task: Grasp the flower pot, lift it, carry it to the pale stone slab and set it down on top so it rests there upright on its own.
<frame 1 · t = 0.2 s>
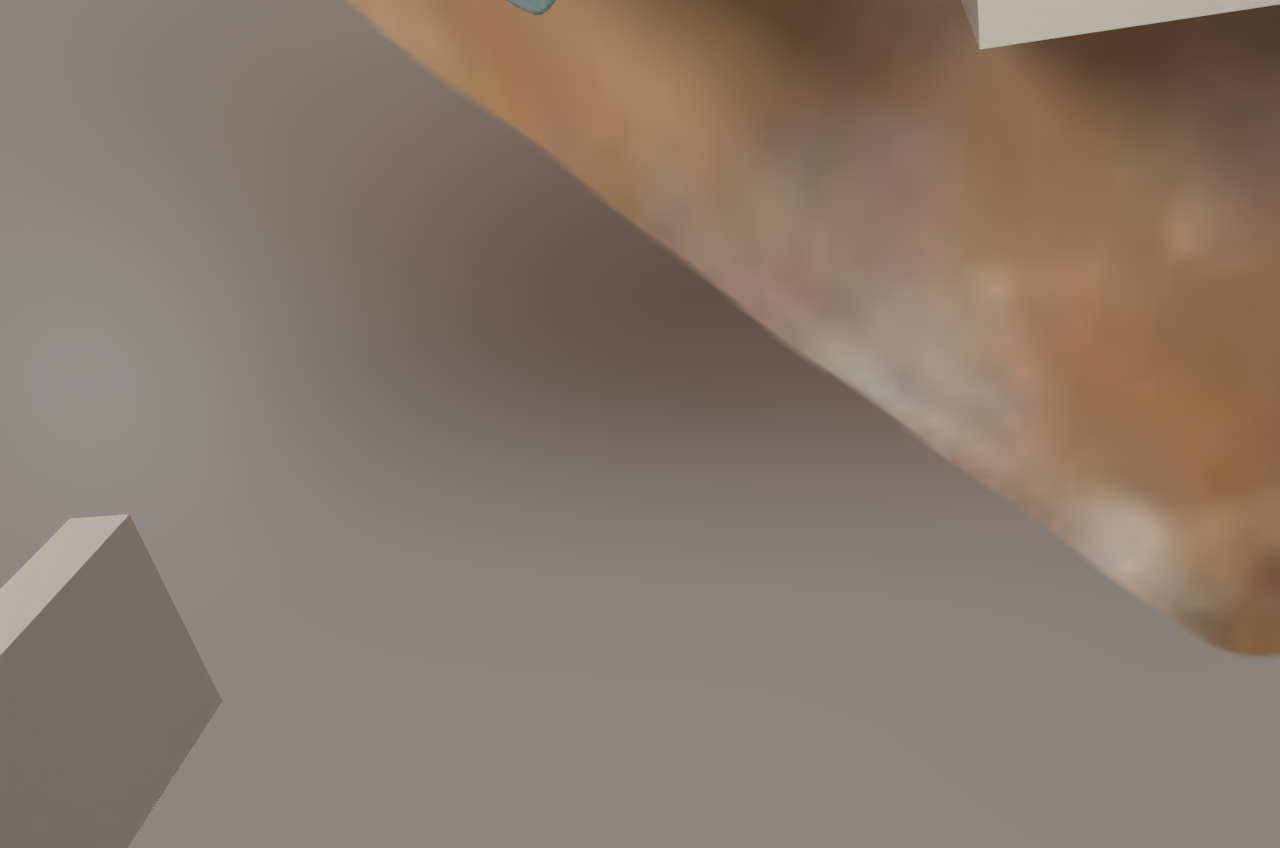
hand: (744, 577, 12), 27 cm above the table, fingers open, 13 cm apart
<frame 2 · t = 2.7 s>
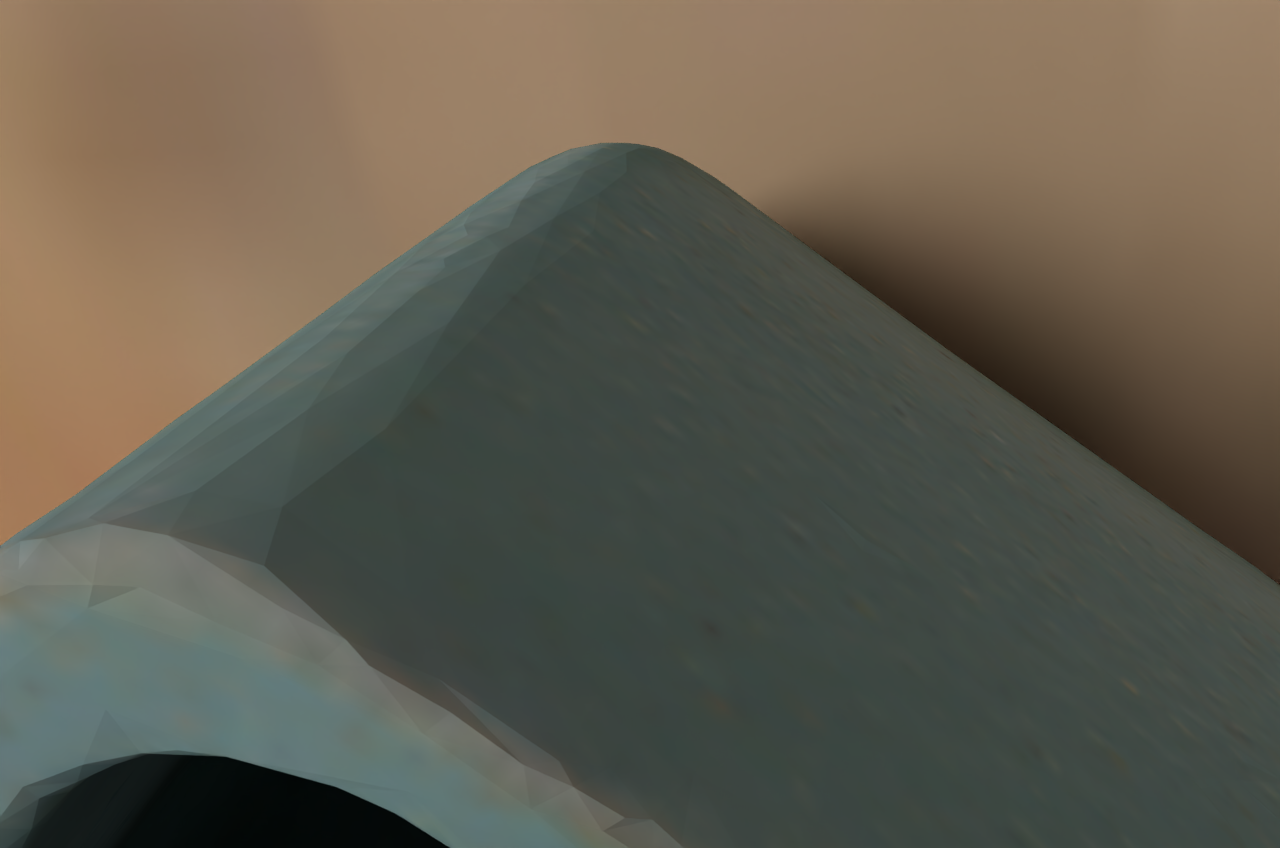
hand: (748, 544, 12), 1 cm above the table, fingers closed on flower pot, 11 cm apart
flower pot: (762, 486, 13), on the table, touching gripper
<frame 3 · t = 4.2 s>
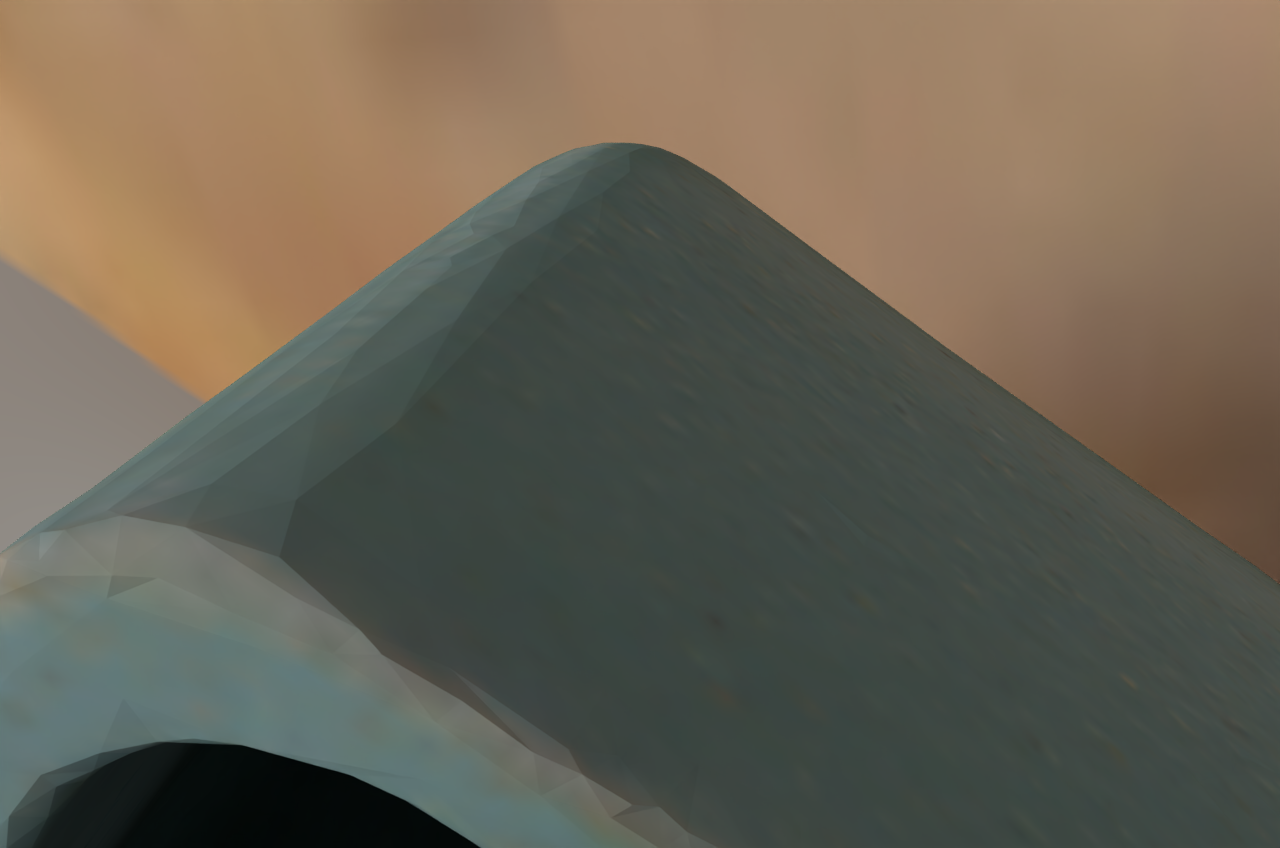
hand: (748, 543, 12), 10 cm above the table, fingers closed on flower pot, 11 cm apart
flower pot: (763, 485, 13), point 9 cm above the table, touching gripper
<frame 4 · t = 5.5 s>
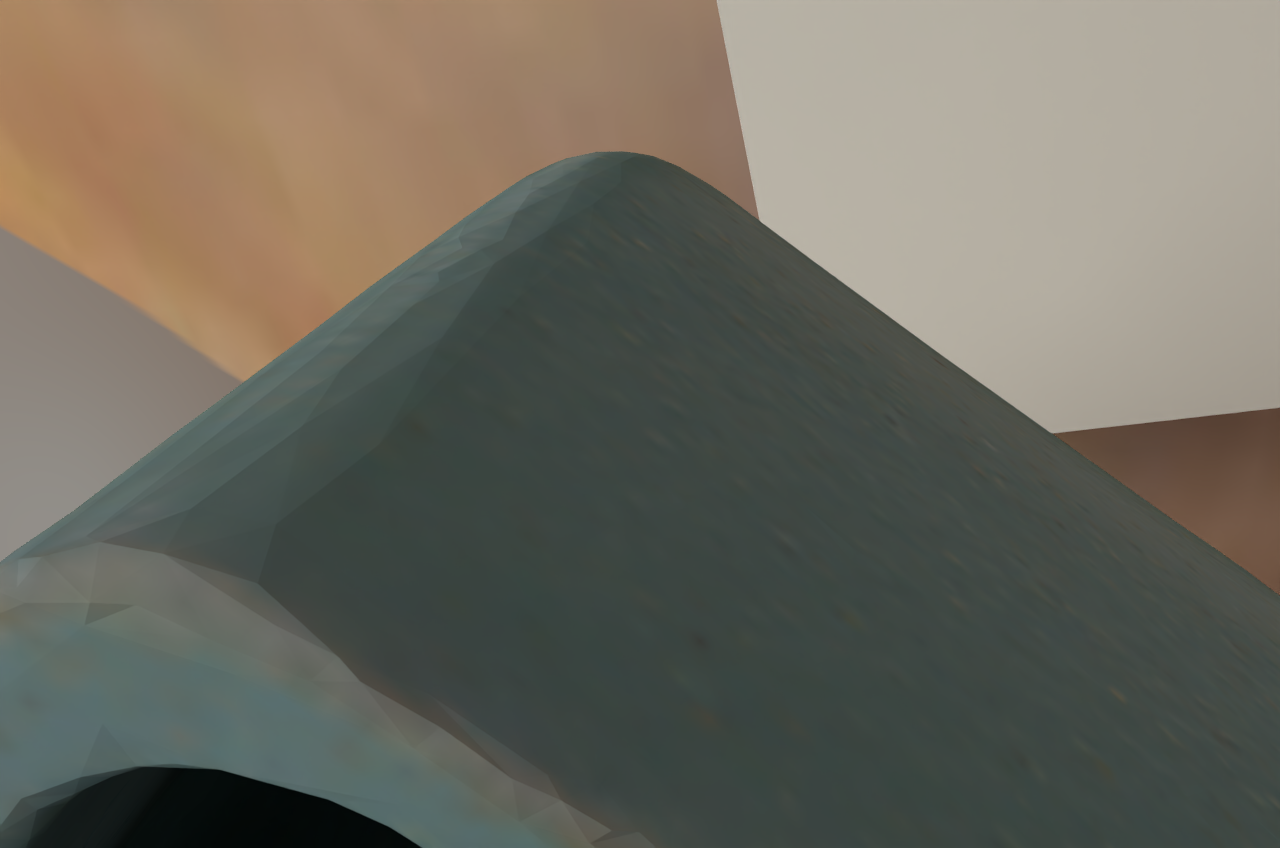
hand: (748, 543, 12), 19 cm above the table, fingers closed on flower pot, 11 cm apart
stone slab: (1072, 25, 26), on the table
flower pot: (759, 490, 13), point 18 cm above the table, touching gripper
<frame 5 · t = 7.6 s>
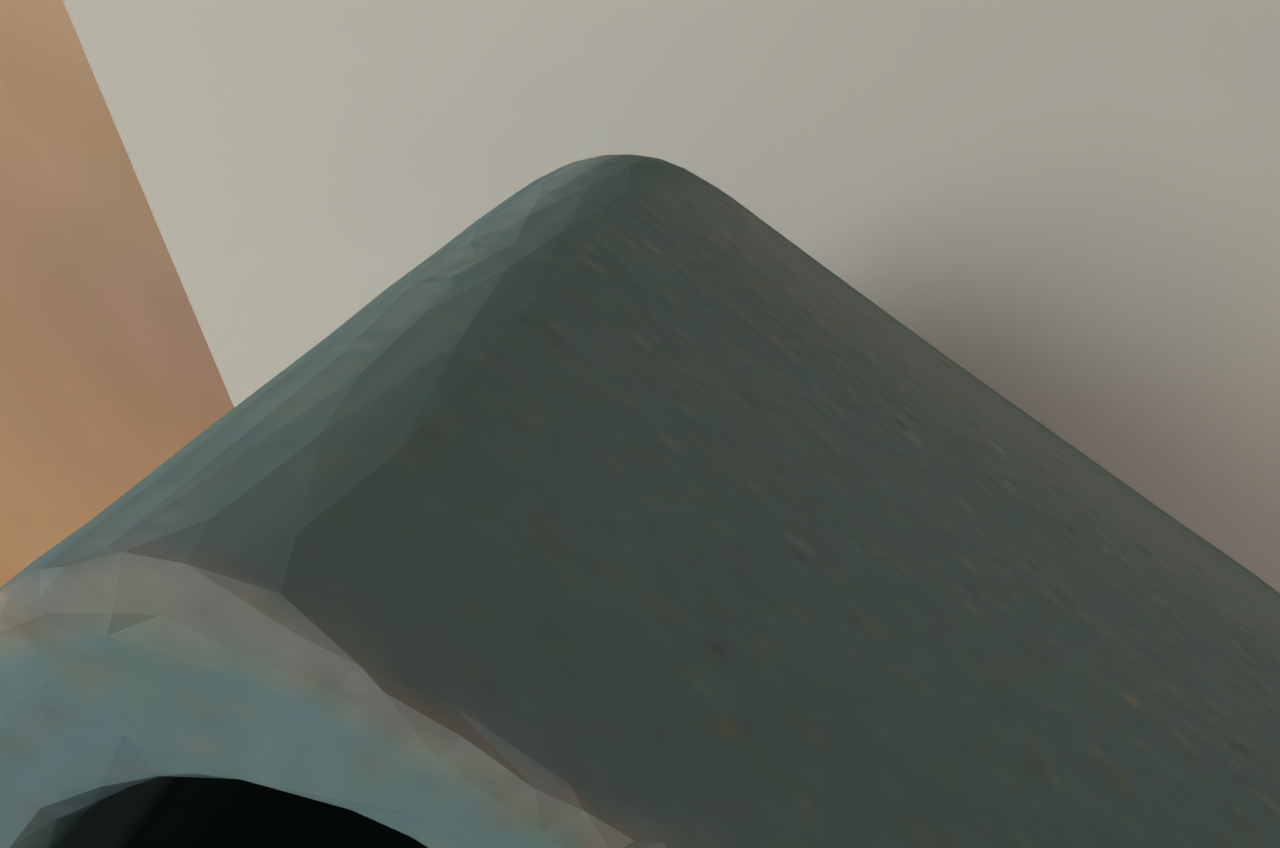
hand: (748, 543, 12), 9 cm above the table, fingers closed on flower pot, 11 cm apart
stone slab: (787, 232, 19), on the table
flower pot: (764, 491, 13), point 8 cm above the table, touching gripper
when the fingers open (8 cm above the table, at t = 8.3 s): flower pot drops 1 cm, resting on stone slab.
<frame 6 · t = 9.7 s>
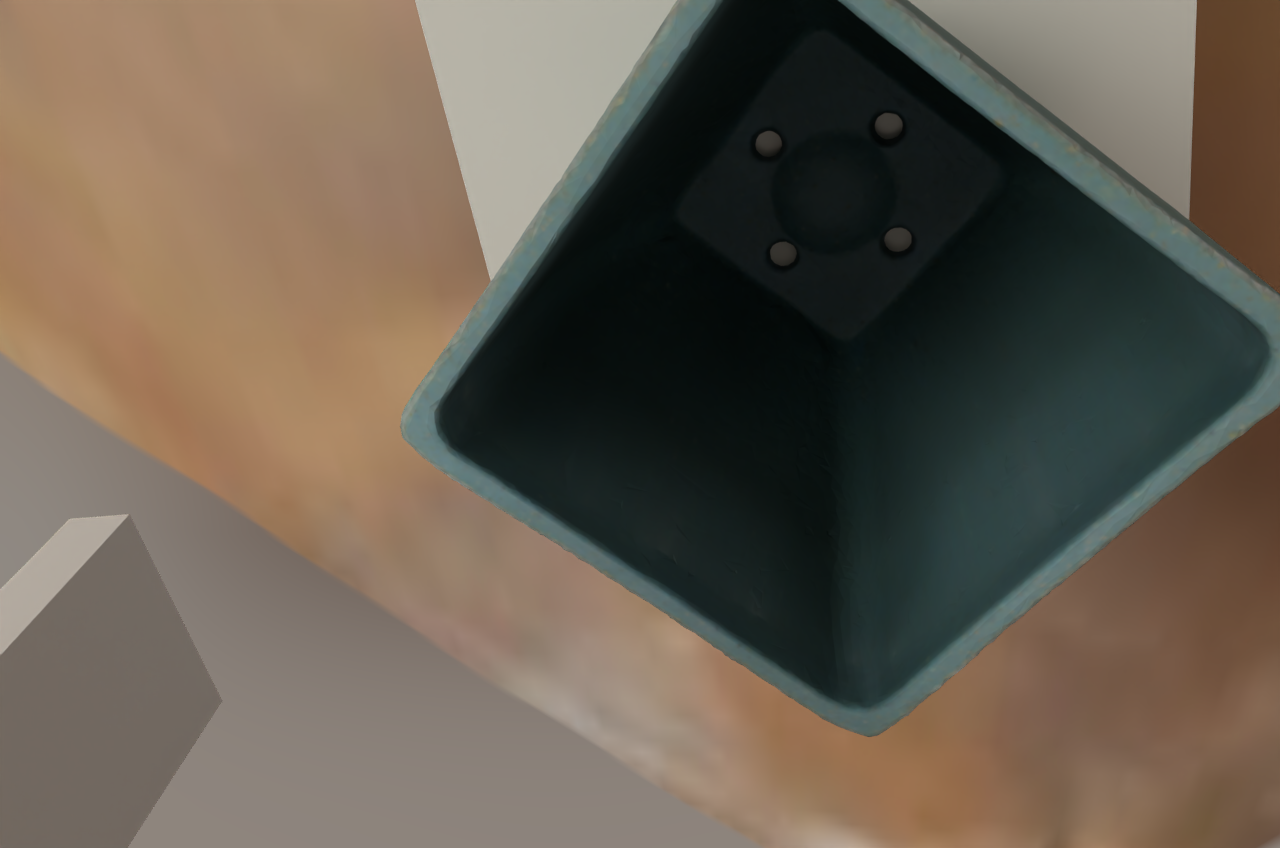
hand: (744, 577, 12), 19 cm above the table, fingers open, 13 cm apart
stone slab: (818, 109, 28), on the table
flower pot: (834, 179, 23), point 6 cm above the table, touching stone slab
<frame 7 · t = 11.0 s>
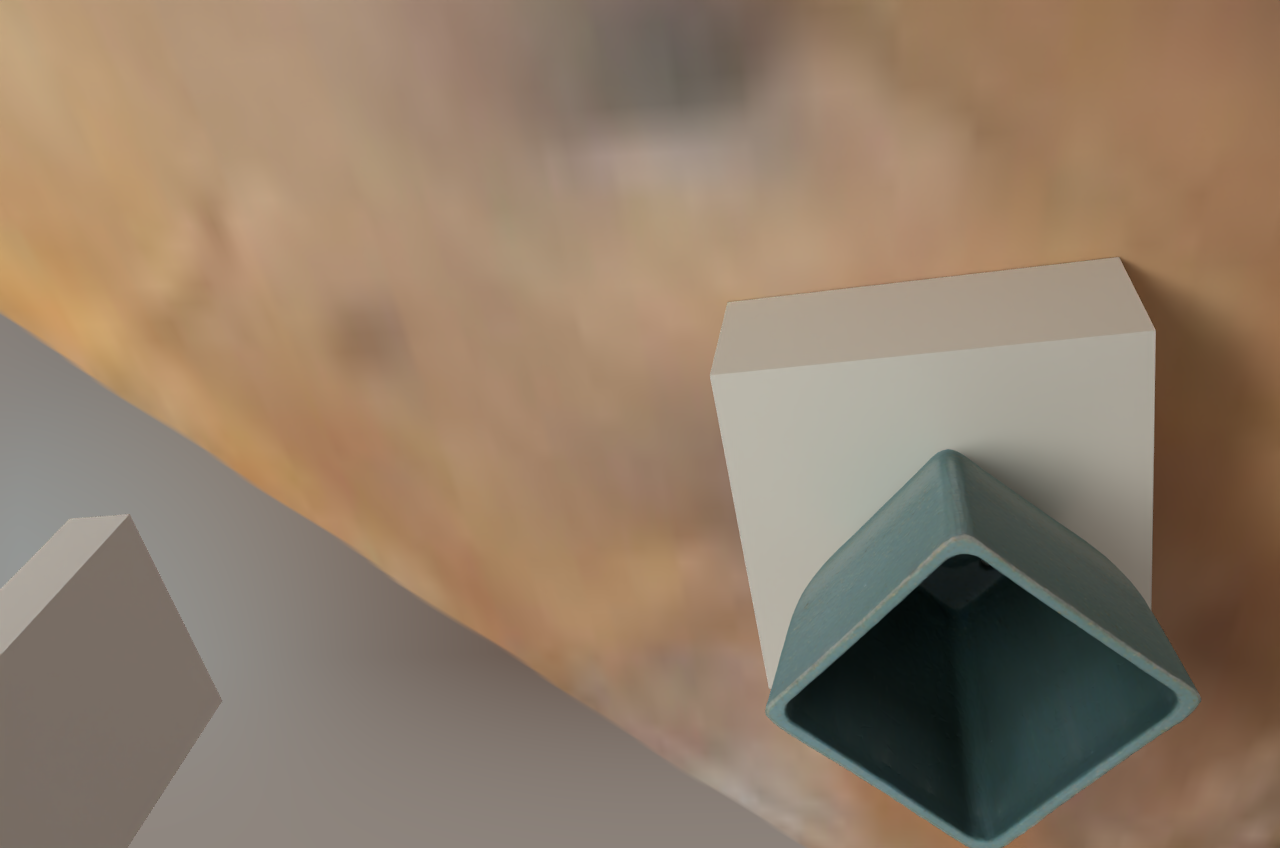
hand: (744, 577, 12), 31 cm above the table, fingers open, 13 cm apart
stone slab: (930, 443, 46), on the table
flower pot: (953, 525, 41), point 6 cm above the table, touching stone slab
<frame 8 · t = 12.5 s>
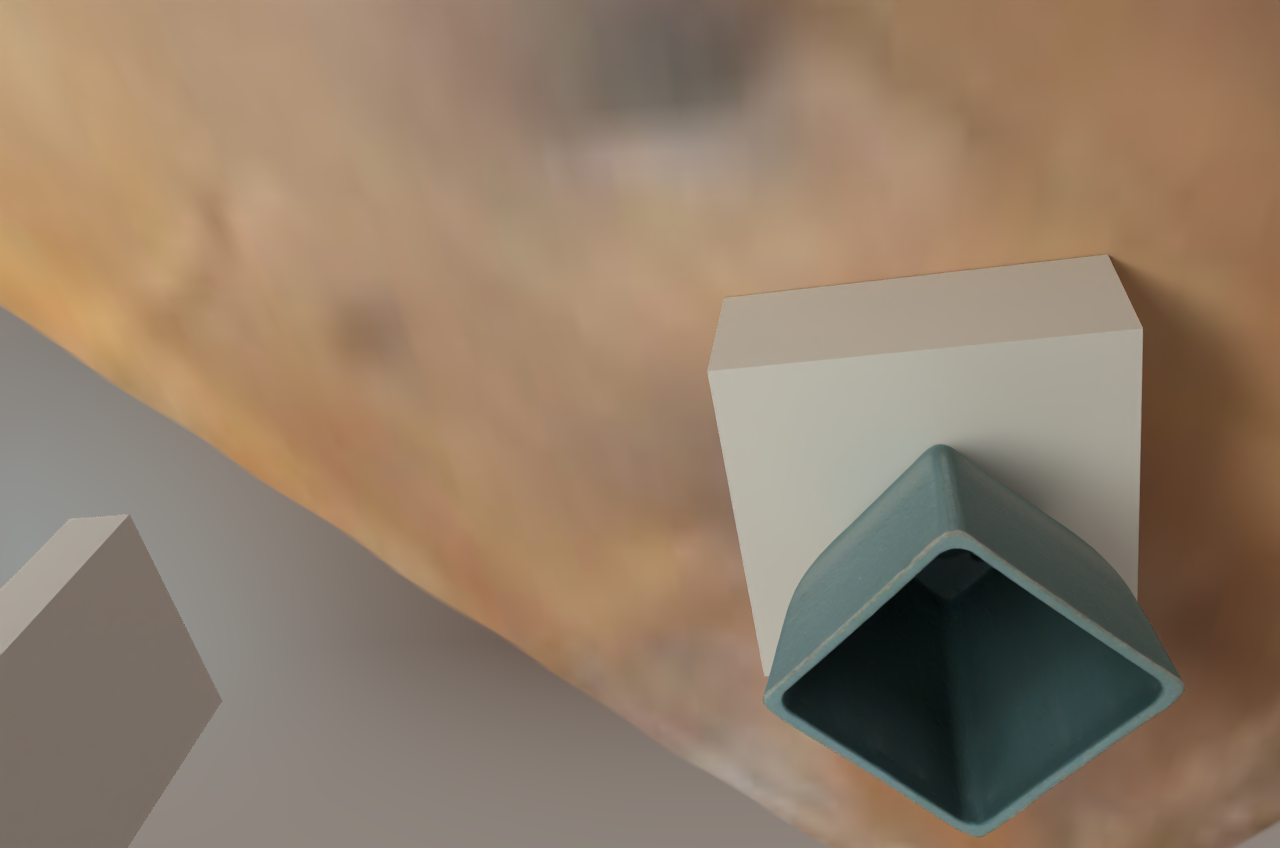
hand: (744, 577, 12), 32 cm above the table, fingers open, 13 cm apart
stone slab: (922, 436, 47), on the table
flower pot: (944, 517, 42), point 6 cm above the table, touching stone slab
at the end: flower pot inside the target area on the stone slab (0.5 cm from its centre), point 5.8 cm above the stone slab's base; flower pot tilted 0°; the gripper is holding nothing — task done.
